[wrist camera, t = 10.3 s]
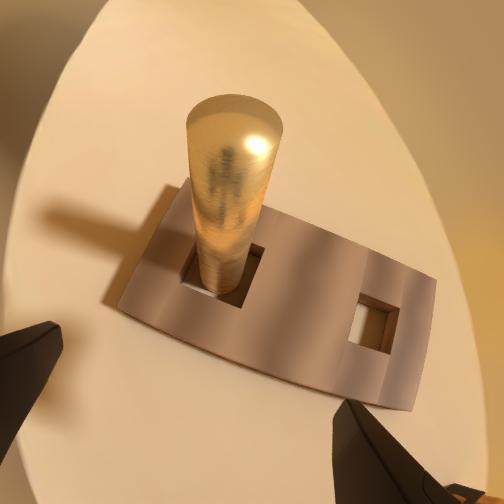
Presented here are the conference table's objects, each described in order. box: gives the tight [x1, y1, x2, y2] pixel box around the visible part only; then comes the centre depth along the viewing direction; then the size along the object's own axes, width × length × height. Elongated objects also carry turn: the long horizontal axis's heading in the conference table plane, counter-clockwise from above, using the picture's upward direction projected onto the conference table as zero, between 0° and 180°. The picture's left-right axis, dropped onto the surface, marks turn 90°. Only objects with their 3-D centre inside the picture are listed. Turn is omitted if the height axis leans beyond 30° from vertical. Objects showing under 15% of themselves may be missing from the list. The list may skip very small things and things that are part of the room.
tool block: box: [117, 177, 437, 412], centre depth 22 cm, size 24×12×2 cm, turn 69°
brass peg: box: [186, 94, 283, 294], centre depth 16 cm, size 3×3×16 cm
